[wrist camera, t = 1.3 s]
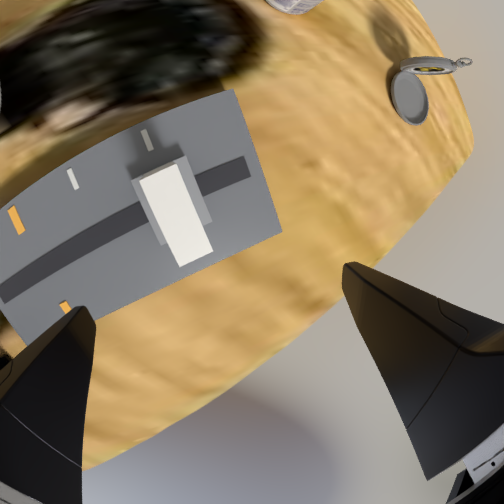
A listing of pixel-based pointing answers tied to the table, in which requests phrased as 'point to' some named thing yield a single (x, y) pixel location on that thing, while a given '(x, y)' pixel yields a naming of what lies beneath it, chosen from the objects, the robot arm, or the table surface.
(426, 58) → the pocket watch
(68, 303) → the fader console
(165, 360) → the table surface
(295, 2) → the energy drink
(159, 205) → the fader tab
